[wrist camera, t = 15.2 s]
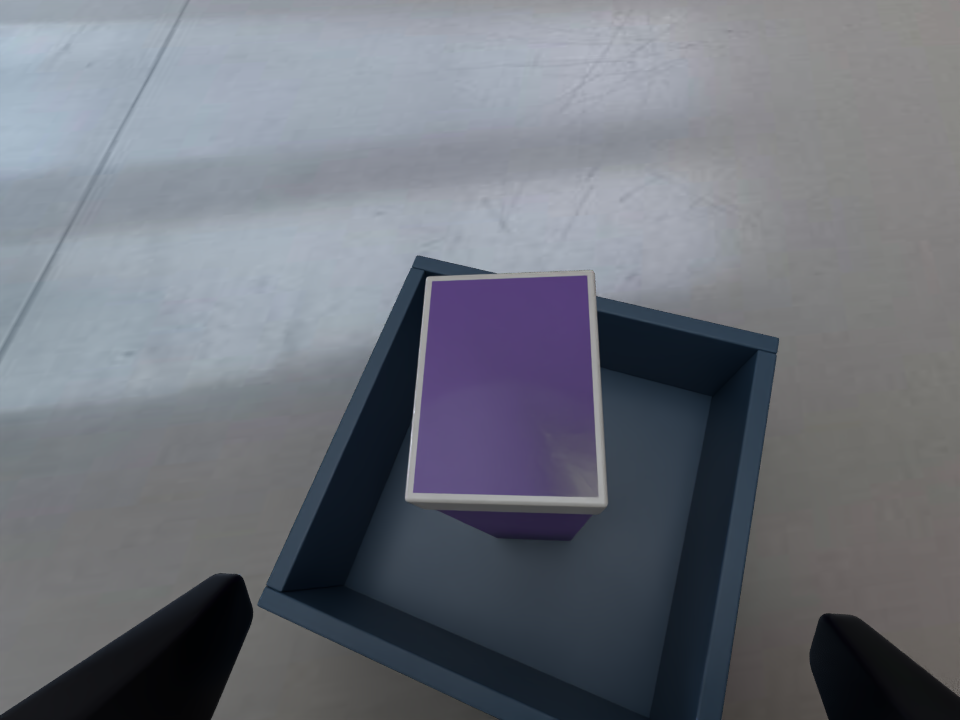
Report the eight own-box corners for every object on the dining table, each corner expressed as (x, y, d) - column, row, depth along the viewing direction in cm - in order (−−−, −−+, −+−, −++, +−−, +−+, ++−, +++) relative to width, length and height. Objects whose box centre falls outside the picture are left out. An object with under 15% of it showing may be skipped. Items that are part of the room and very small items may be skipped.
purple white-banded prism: (573, 542, 19) (609, 507, 7) (494, 539, 19) (403, 502, 8) (569, 439, 21) (595, 268, 9) (497, 438, 21) (425, 274, 9)
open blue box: (659, 740, 17) (707, 818, 12) (331, 594, 20) (255, 606, 15) (724, 392, 21) (780, 337, 16) (444, 319, 24) (416, 254, 19)
